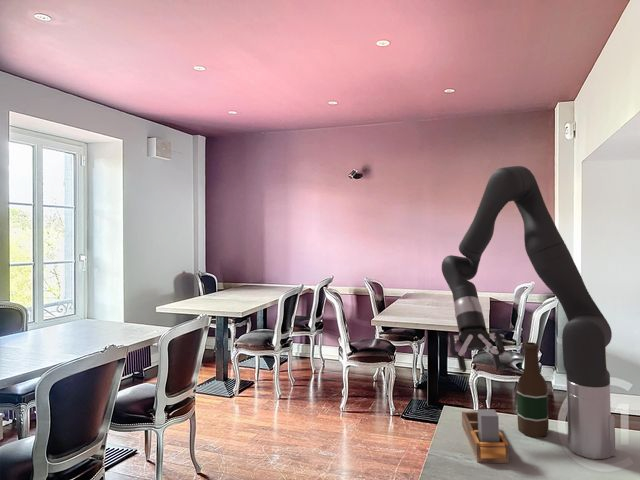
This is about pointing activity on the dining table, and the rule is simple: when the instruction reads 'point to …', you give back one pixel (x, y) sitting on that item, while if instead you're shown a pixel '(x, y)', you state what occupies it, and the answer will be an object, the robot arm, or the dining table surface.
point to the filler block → (488, 425)
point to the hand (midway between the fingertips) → (480, 370)
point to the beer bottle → (532, 396)
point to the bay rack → (484, 450)
